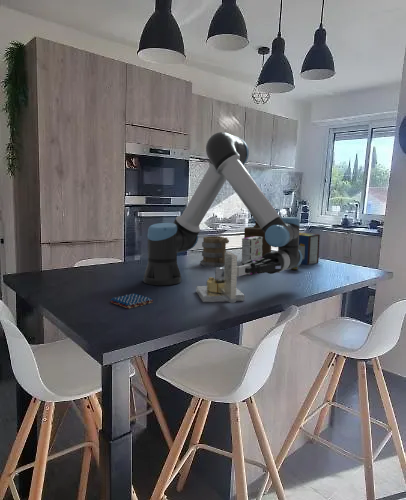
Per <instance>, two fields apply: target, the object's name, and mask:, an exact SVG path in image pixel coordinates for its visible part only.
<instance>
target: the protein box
mask: <svg viewBox="0 0 406 500" xmlns="http://www.w3.org/2000/svg"><path fill="white" fill-rule="evenodd" d="M320 236H321V235H320V233H317V234H316V233H308V232H299V250H300V251H301V253H302V254H303V255H302V257H303V258H302V262H301V264H300V265H306V266H309V265H315V264H318V263H319V256H320V238H321V237H320Z"/></svg>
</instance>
